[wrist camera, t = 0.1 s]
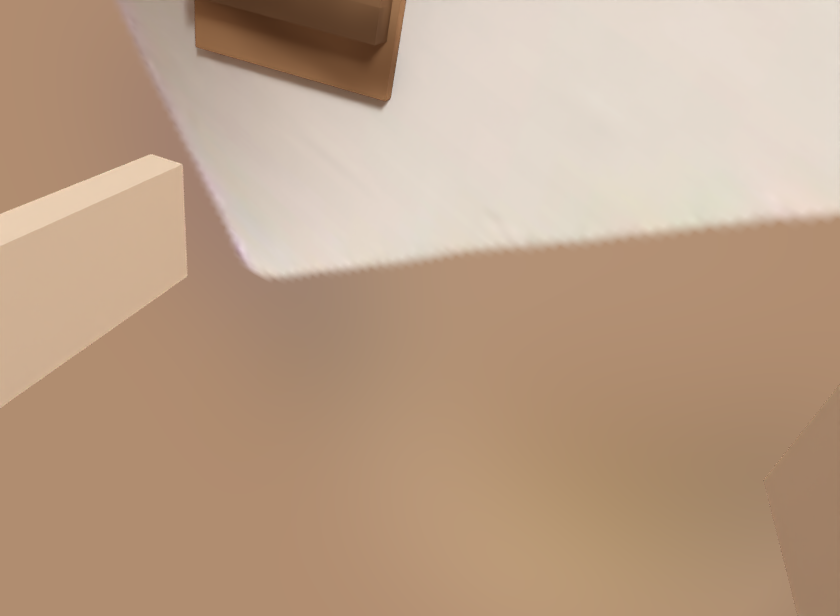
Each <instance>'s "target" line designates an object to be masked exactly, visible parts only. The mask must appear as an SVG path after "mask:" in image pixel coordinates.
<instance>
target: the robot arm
mask: <svg viewBox="0 0 840 616" xmlns="http://www.w3.org/2000/svg"><path fill="white" fill-rule="evenodd" d="M185 231H186V230H185V206H184V182H183V164H180V163H177V162H174V161H171V160H168V159H165V158H162V157H159V156H156V155H152V154H150V155H147V156H145V157H142V158H140V159H137V160H135V161H132V162H129V163H127V164H124V165H122V166H119V167H117V168H115V169H112V170H109V171H107V172H104V173H102V174H99V175H97V176H94V177H92V178H90V179H87V180H84V181H82V182H79V183H77V184H74V185H72V186H69V187H67V188H65V189H62V190H59V191H57V192H54V193H52V194H49V195H47V196H44V197H42V198H39V199H36V200H34V201H31V202H29V203H26V204H24V205H21V206H19V207H16V208H14V209H11V210H9V211H6V212H4V213H2V214H0V408H1V407H3V406H4V405H5V404H7V403H8V402H10V401H11V400H12V399H14V398H15V397H17V396H18V395H20V394H21V393H22V392H24V391H25V390H27V389H28V388H30V387H31V386H32V385H34V384H35V383H37V382H38V381H39V380H41V379H42V378H44V377H45V376H46V375H48V374H49V373H51V372H52V371H53V370H55V369H56V368H58V367H59V366H60V365H62V364H64V363H65V362H66V361H68V360H69V359H71V358H72V357H73V356H75V355H76V354H78V353H79V352H80V351H82V350H83V349H85V348H86V347H88V346H89V345H90V344H92V343H93V342H95V341H96V340H97V339H99V338H100V337H102V336H103V335H105V334H106V333H107V332H109V331H110V330H112V329H113V328H114V327H116V326H117V325H119V324H120V323H122V322H123V321H125V320H126V319H127V318H129V317H130V316H132V315H133V314H134V313H136V312H137V311H139V310H140V309H142V308H143V307H144V306H146V305H147V304H149V303H150V302H152V301H153V300H154V299H156V298H157V297H159V296H160V295H161V294H163V293H164V292H166V291H167V290H168V289H170V288H171V287H173V286H174V285H176V284H177V283H178V282H180V281H181V280H183V279H184V278H185V277H187V255H186V232H185ZM763 481H764V485H765V489H766V493H767V496H768V501H769V505H770V508H771V512H772V516H773V521H774V525H775V529H776V532H777V536H778V540H779V544H780V548H781V552H782V556H783V560H784V564H785V568H786V572H787V576H788V580H789V584H790V588H791V592H792V596H793V600H794V604H795V608H796V612H797V616H840V384H839V385H838V387H837V388H836V389H835V391H834V392H833V393H832V394H831V396H830V397H829V398H828V400H827V401H826V402H825V403H824V404H823V406H822V407H821V408H820V410H819V411H818V412H817V413H816V415H815V416H814V417H813V418H812V420H811V421H810V422H809V423H808V425H807V426H806V427H805V428H804V430H803V431H802V432H801V434H800V435H799V436H798V437H797V439H796V440H795V441H794V442H793V444H792V445H791V446H790V447H789V449H788V450H787V451H786V452H785V454H784V455H783V456H782V458H781V459H780V460H779V461H778V463H777V464H776V465H775V466H774V468H773V469H772V470H771V471H770V473H769V474H768V475H767V477H766V478H765V479H764V480H763Z"/></svg>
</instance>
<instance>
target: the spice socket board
mask: <svg viewBox="0 0 840 616" xmlns="http://www.w3.org/2000/svg"><path fill="white" fill-rule="evenodd" d="M405 4H406V0H195V41H196V47H198V48H201V49H205V50H208V51H212V52H215V53H219V54H222V55H226V56H229V57H232V58H236V59H239V60H243V61H246V62H250V63H253V64H257V65H260V66H264V67H267V68H271V69H274V70H278V71H281V72H285V73H288V74H292V75H295V76H299V77H302V78H306V79H309V80H313V81H316V82H320V83H323V84H327V85H330V86H334V87H337V88H341V89H344V90H348V91H351V92H355V93H358V94H362V95H365V96H369V97H372V98H376V99H379V100H383V101H387V100H388V99H390V98H391V93H392V87H393V80H394V74H395V67H396V61H397V55H398V48H399V42H400V36H401V29H402V23H403V17H404V10H405Z"/></svg>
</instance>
